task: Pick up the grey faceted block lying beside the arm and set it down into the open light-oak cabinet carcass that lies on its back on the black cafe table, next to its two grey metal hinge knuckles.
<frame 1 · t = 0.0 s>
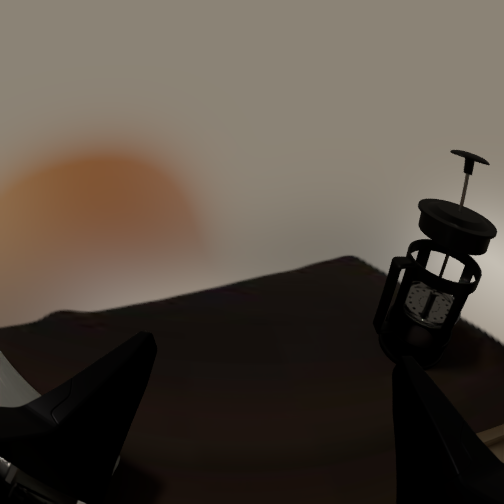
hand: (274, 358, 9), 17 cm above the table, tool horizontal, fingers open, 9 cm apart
french press: (408, 343, 29), on the table
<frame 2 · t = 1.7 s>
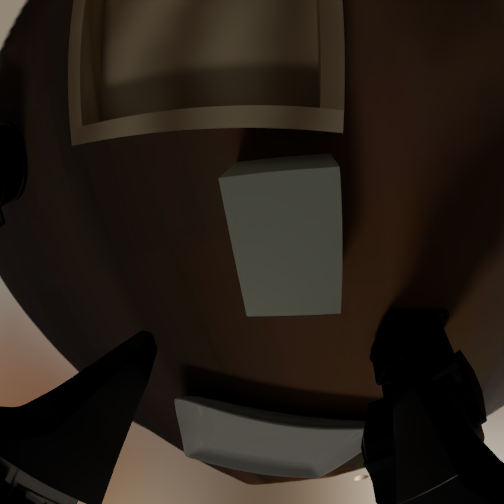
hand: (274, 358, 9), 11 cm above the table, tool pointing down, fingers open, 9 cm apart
carcass: (199, 34, 13), on the table
french press: (9, 165, 20), on the table
square plate: (269, 435, 37), on the table
grey faceted block: (290, 221, 19), on the table
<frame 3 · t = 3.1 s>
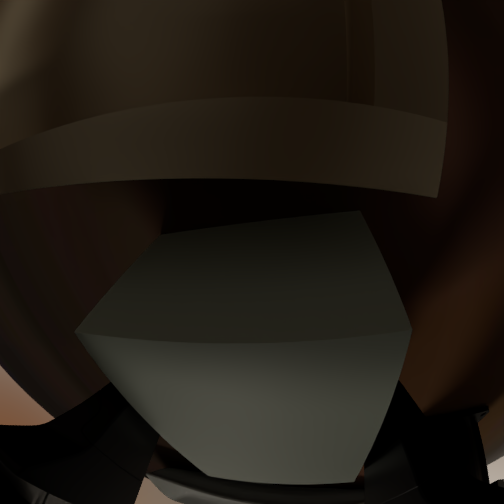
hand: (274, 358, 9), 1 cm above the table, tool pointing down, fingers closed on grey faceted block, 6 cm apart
square plate: (260, 492, 28), on the table
grey faceted block: (276, 336, 10), on the table, touching gripper
when the fingers open (3 cm above the table, at t = 7.3 s): grey faceted block drops 1 cm, resting on carcass.
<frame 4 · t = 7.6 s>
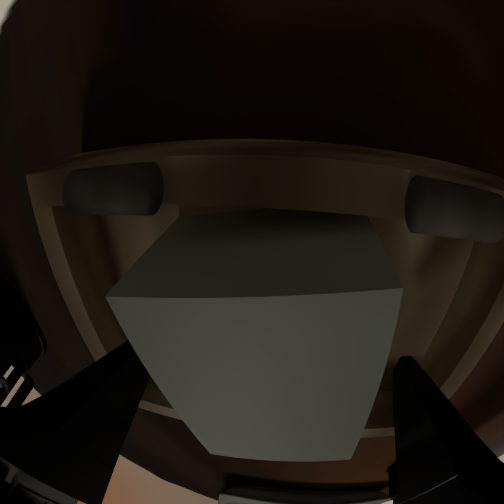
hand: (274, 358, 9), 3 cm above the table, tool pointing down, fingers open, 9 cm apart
carcass: (281, 302, 11), on the table
french press: (17, 318, 19), on the table
square plate: (293, 496, 35), on the table
grey faceted block: (280, 316, 11), point 1 cm above the table, touching carcass
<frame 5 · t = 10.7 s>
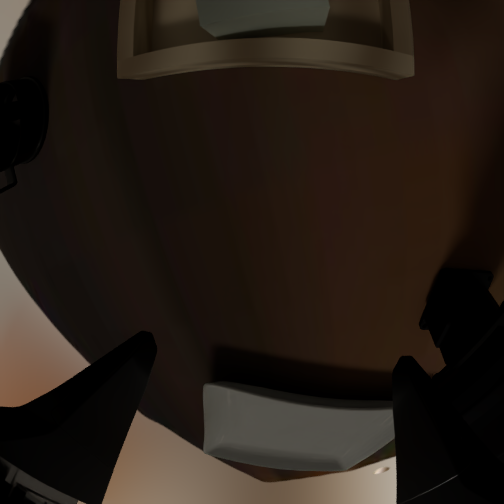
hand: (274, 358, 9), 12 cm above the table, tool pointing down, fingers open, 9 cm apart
french press: (25, 124, 18), on the table
square plate: (298, 425, 35), on the table
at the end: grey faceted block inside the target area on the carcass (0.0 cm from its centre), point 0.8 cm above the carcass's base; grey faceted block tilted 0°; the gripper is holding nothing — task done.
